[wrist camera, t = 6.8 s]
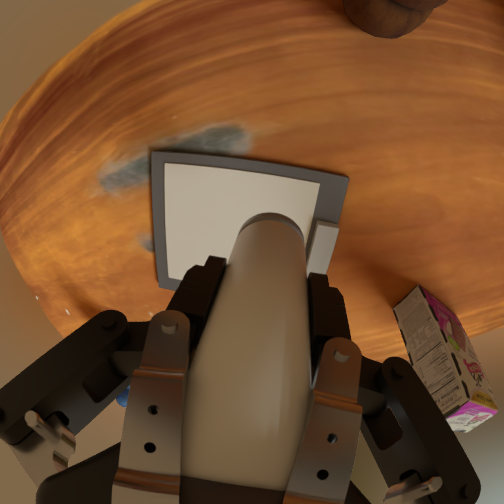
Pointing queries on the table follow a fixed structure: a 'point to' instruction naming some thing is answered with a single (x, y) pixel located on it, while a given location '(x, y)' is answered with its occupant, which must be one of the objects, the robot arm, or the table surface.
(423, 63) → the table surface
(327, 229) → the clipboard
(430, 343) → the candy bar box
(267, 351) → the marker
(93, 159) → the table surface
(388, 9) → the wooden figurine
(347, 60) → the table surface
